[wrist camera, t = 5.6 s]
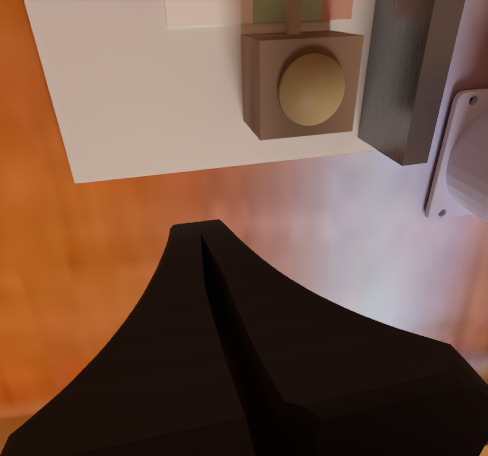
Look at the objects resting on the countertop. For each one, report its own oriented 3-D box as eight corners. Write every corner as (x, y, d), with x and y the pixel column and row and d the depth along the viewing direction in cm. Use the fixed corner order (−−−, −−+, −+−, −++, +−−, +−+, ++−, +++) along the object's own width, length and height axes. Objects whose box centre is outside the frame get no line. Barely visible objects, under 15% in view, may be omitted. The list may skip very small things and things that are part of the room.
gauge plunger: (333, -8, 16) (374, -10, 13) (323, 113, 19) (355, 133, 16) (239, -5, 15) (261, -6, 12) (243, 120, 18) (262, 142, 15)
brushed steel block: (401, -10, 17) (468, -13, 13) (378, 135, 20) (427, 162, 16) (376, -9, 16) (437, -12, 13) (357, 137, 20) (402, 165, 16)
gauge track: (396, -30, 17) (413, -33, 16) (370, 142, 21) (382, 150, 20) (26, -23, 14) (16, -26, 13) (78, 173, 19) (74, 184, 17)
